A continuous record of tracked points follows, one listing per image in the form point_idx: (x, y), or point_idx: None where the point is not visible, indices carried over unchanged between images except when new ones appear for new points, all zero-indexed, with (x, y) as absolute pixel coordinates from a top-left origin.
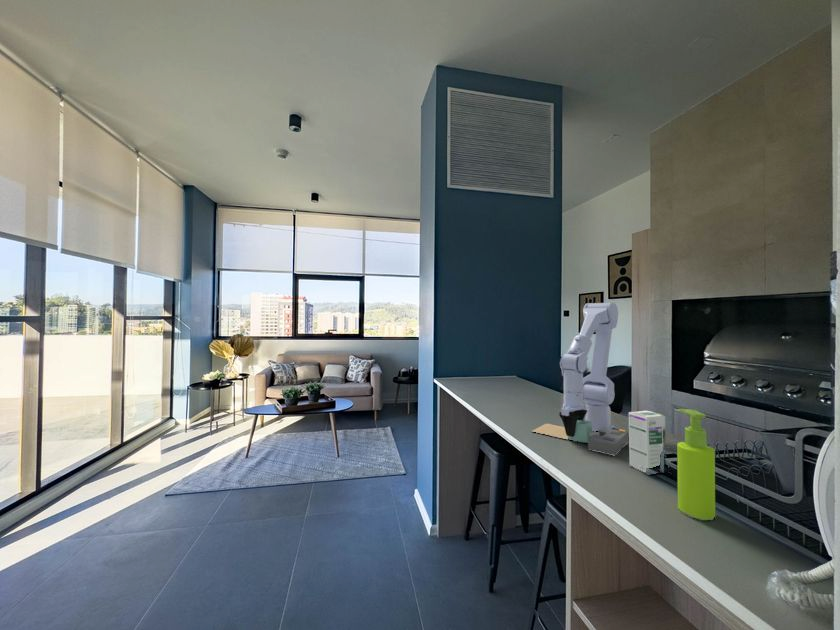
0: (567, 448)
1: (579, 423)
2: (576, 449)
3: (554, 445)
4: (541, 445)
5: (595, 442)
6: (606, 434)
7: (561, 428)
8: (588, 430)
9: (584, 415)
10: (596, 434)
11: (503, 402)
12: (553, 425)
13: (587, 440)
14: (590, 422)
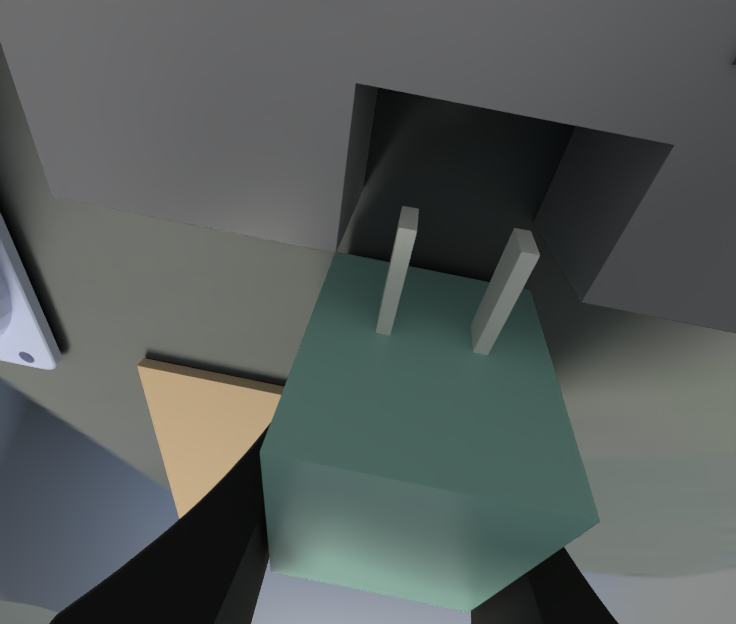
0: (700, 415)
1: (507, 560)
2: (718, 357)
3: (638, 481)
4: (663, 531)
5: None
6: (504, 72)
7: (212, 469)
8: (484, 384)
9: (170, 588)
10: (534, 258)
11: (31, 619)
12: (189, 502)
13: (532, 311)
14: (328, 451)
